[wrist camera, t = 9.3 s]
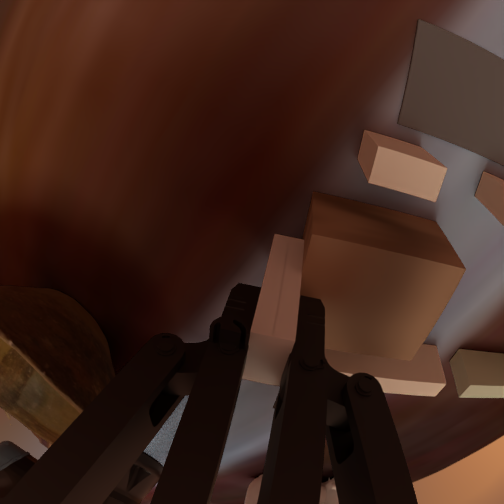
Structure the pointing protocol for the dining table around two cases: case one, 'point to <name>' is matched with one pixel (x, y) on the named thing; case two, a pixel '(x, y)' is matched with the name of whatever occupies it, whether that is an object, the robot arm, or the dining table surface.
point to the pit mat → (455, 92)
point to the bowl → (49, 359)
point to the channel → (427, 187)
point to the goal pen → (478, 374)
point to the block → (376, 275)
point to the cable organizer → (326, 496)
